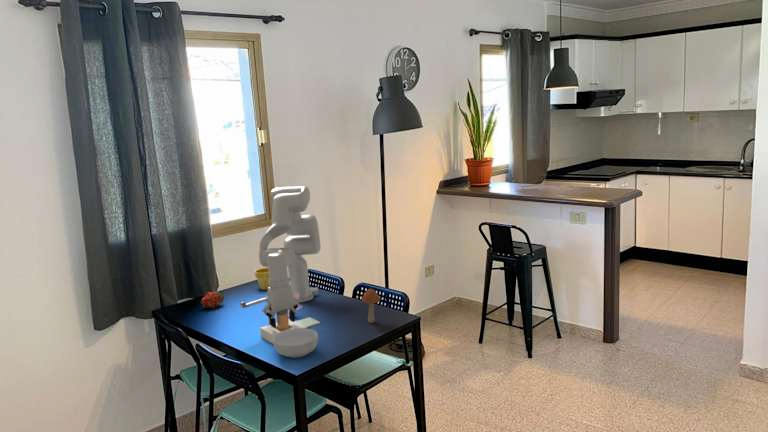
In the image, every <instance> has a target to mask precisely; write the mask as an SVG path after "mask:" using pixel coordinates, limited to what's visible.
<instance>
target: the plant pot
mask: <svg viewBox="0 0 768 432" xmlns="http://www.w3.org/2000/svg"><path fill="white" fill-rule="evenodd" d="M254 275H255V278H256V280H257V283H258V286H259V289H260V290H263V291H268V287H270V282H269V272H268V267H262V268H257V269H256V270H255V271H254Z"/></svg>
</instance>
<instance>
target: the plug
mask: <svg viewBox="0 0 768 432" xmlns="http://www.w3.org/2000/svg"><path fill="white" fill-rule="evenodd" d="M275 315H276V323H277V325H278V330H279V331H283V330H286V329H289V320H288V319H289V315H288V310H287V309H285V310H282V311H279V312H276V314H275Z"/></svg>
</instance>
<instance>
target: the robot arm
mask: <svg viewBox="0 0 768 432" xmlns="http://www.w3.org/2000/svg"><path fill="white" fill-rule="evenodd" d="M270 197H271V200H272V206H271V207H272V208H271V209H272V210H271V226H270V227H269V228H268V229H266V231H265V232H264V234H263V235H262V237H261V238H260V239H261V240H260V242H259V249H258V250H259V252H258V253H259V254H258V259H259V260H258V261H259V263H260V265H261V266H262V267H263V268H268V272H269V282H270V287H268V289H267V292H266V297H267V301H266V305H265V306H264V307H263V308H262V309H261V311H262V313H263V314H264V315H265V316H266V317H269V318H270V325H271V326H272V327H274V328H276V323H277V319H276V318H275V315H276V312H279V311H282V310H285V309H289V310H290V311H289V315H288V319H290V321H292V322H295V321H296V320H295V319H296V313H297V312H296V311H297V310H296V309H297V307H298V304H299V305H300V303H304V302H305V303H306V302H308V301H311V300H313V299H314V294H313V293H315V292H318V291H319V287H310V280H309V272H308V271H309V269H308V263H307V260H306V259H305V258H304V257H303V256H308V255H317V254H319V253H320V251H321V239H320V232H319V231H320V230H319V224H318V219H317V218H316V216H315V215H313V214H301V213H303V212H305V211H306V210H307V209H308V206H309V204H310V201H311V192H310V189H309V188H308V187H307V186H306V185H302V186H300V185H299V186H281V187H280V186H279V187H275V188H272V190H271V192H270ZM284 234H286V235H287V237H285V238H284V241H283V247H273V248H268V247H269V244H270V243H272V241H273V240H275V239H276V238H278V237H280V236H282V235H284ZM298 293H299V297H298V299H296V298H293V296H294V295H296V294H298ZM294 301H295V304H294ZM268 310H270V312H269V313H268ZM295 312H296V313H295Z"/></svg>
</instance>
